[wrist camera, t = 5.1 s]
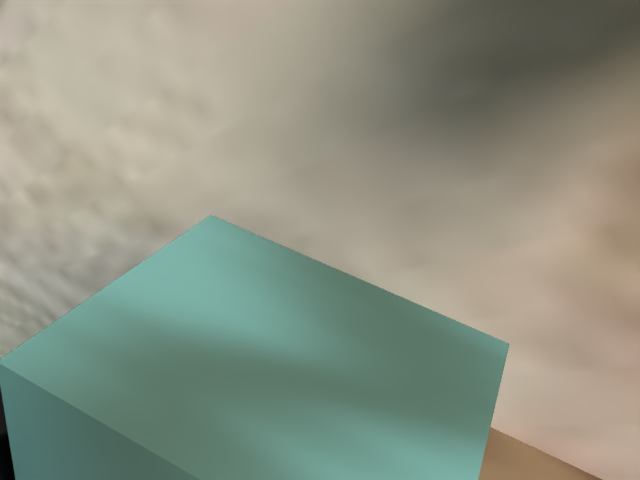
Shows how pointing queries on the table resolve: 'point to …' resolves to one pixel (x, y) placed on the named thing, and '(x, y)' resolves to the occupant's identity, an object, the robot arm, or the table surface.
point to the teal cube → (249, 375)
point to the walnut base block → (523, 462)
